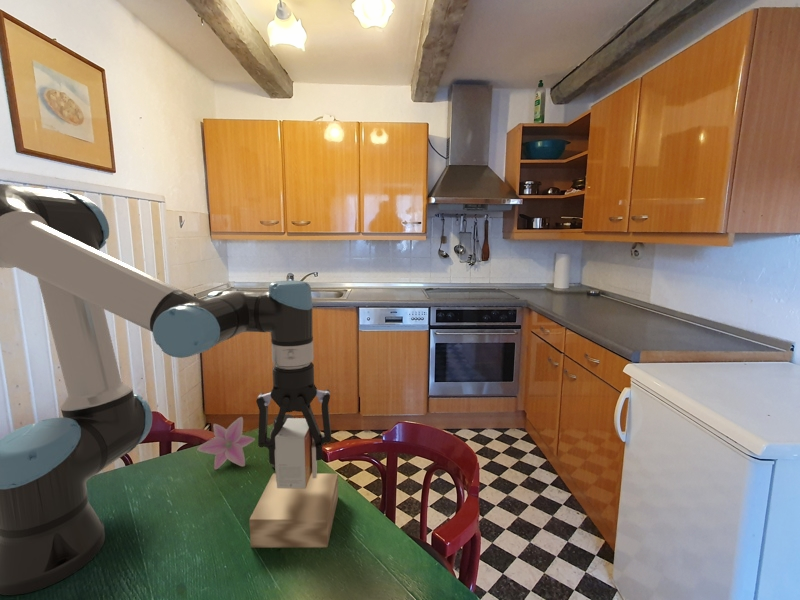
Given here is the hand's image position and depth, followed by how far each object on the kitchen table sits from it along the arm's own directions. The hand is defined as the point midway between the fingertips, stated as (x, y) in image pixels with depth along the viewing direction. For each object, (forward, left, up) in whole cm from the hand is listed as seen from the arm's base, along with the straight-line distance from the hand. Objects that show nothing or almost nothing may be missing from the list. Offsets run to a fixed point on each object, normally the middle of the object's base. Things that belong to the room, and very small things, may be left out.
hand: (296, 475), depth 77 cm
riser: (0, 0, -10) cm, 10 cm away
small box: (0, 0, -1) cm, 1 cm away
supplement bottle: (-5, +21, -10) cm, 24 cm away
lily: (-19, +24, -10) cm, 33 cm away
